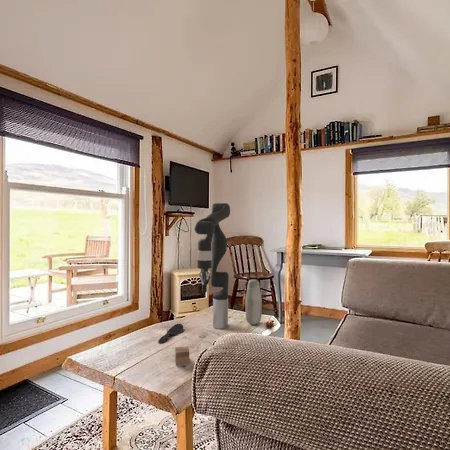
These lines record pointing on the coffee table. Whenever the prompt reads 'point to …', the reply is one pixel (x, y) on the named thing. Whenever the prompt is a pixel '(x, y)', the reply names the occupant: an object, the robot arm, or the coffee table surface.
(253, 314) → the grey green rounded cylinder
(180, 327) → the hairbrush
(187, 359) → the two tone block
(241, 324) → the coffee table surface
